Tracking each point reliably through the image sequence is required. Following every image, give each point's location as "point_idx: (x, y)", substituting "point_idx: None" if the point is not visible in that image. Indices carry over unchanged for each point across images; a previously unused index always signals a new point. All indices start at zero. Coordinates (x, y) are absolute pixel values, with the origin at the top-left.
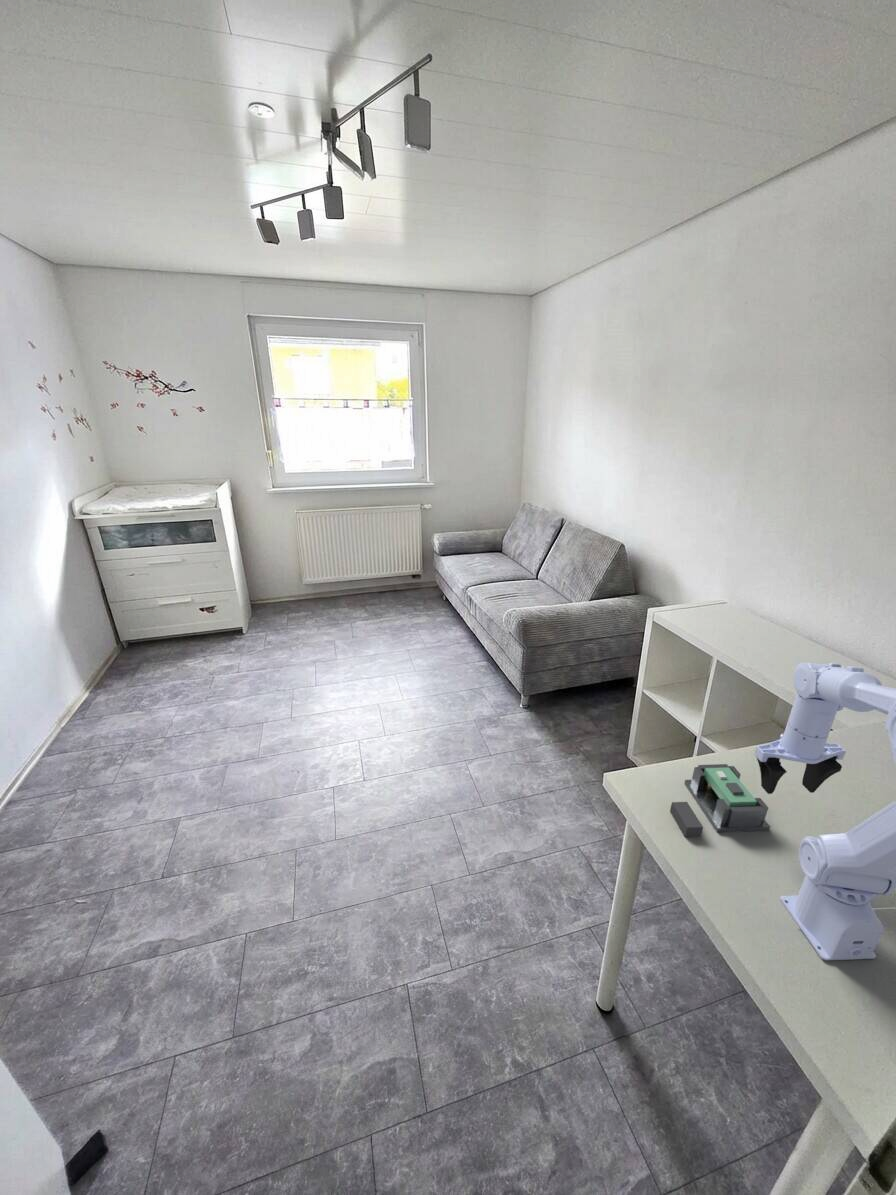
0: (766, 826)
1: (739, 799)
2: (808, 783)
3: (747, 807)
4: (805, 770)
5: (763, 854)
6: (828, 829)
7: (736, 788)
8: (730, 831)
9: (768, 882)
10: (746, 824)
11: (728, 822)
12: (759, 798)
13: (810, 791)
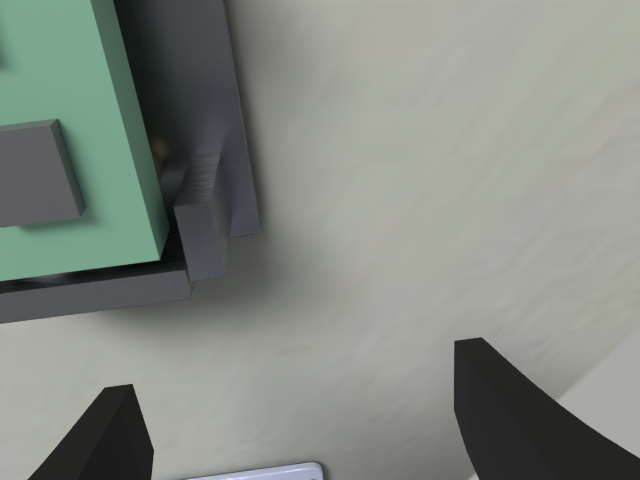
0: (240, 234)
1: (44, 256)
2: (473, 415)
3: (92, 287)
4: (511, 416)
5: (177, 334)
6: (559, 179)
7: (33, 187)
8: None
9: None
10: None
11: None
12: (203, 206)
13: (456, 416)
